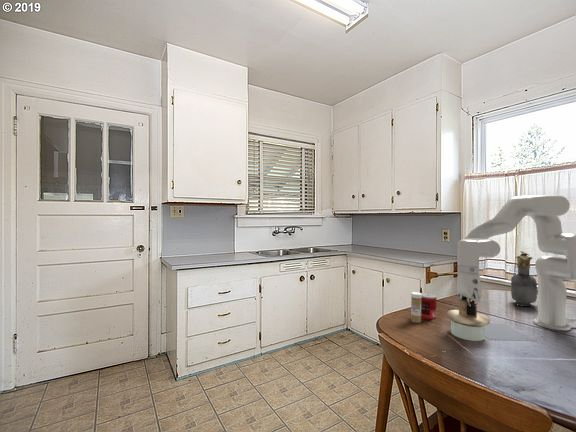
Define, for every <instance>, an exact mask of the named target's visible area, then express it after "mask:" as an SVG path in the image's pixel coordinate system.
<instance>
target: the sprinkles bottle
mask: <svg viewBox="0 0 576 432" xmlns="http://www.w3.org/2000/svg"><path fill="white" fill-rule="evenodd" d="M421 293H422V292H417V291H412V292H411V293H410V298H411V300H410V301H411V304H410V305H411V306H410V309H411V310H410V321H411V322H412V323H416V324H420V323H421V322H422V318H421V298H422V294H421Z"/></svg>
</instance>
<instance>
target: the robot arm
mask: <svg viewBox="0 0 576 432" xmlns="http://www.w3.org/2000/svg"><path fill="white" fill-rule="evenodd" d="M570 207H571V205H570V200H569V199H568V198H566V197H565V196H563V195H542V194H541V195H520V196H519V195H518V196H514V197H511V198H509V199H508V200H507V202H506V203H505V204H504V205H503V206H501V209H499V211H498V212H497V213H496V214H495V216H494V217H492V218H491V219H489V220H487V221H485V222H483V223H481V224H480V225H478V226H476V227H474V228H473V229H472V230H471V231H470V232H469V233H468V234H467V236H466V237H464V239H460V240H458V242H457V277H456V279H457V280H456V292H457V294H458V296H459V300H468V305H467V315H469V316H475V315H476V306H477V307H478V303H480V302H481V299H482V283H481V276H480V258H488V259H491V258H495V257H497V256H498V255H499V254H500V253H501V245H500V244H499V243H498V242H497V241H495V240H492V239H489V238H491V237H495V236H500V235H504V234H508V233H510V232H512V231H513V230H514V229H515V228H517V226H518V225H519V223H521V221H522V220H523V219H524V217H530V218H531V219H532V220H533V222H534V223H535V228H536V239H537V247H538V249H539V251H541V252H542V253H545V254H551V255H541V256H540V257H538V258H537V259H536V260H535V263H534V264H535V267H534V268H535V271H536V274H537V275H536V276H537V317H536V318H533V321H532V322H533V323H534V324H535V325H537V326H539V327H542V328H545V329H550V330H553V331H561V332H562V331H563V332H565V331H567V332H568V331H570V330H571V329H572V326H571V325H570V323H572V324H576V318H574V317H573V318H571V317H570V318H569V317H568V316H567V286H566V284H565V283H564V281H563V280H565V281H571V282H576V234H575V233H564V232H563V229H562V222H561V220H560V218H559V217H560V216H564V215H565V214H567V213H568V211H569V210H570ZM552 255H558V256H552ZM561 256H565V257H561ZM471 300H472V301H471Z"/></svg>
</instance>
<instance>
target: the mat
mask: <svg viewBox="0 0 576 432" xmlns="http://www.w3.org/2000/svg"><path fill="white" fill-rule="evenodd" d="M485 339H488V340H489V341H511V342H512V341H518V342H519V341H520V342H522V341H523V342H537V340H536V339H534V338H532V337H530V336H528V335H527V334H525V333H523V332H521V331H519V330H517V329H516V328H514V327H512V326H510V325H508V324H506V323H504V322H503V323H502V322H501V323H500V322H499V323H498V322H490V323H489V324H488V325H485Z"/></svg>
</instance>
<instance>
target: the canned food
mask: <svg viewBox="0 0 576 432" xmlns="http://www.w3.org/2000/svg"><path fill="white" fill-rule="evenodd" d="M420 293H421V294H422V298H421V319H423V320H427V321H432V320H435V319H436V318H437V307H438V306H437V300H438V299H437V295H436V294H434V293H431V292H420Z"/></svg>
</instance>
